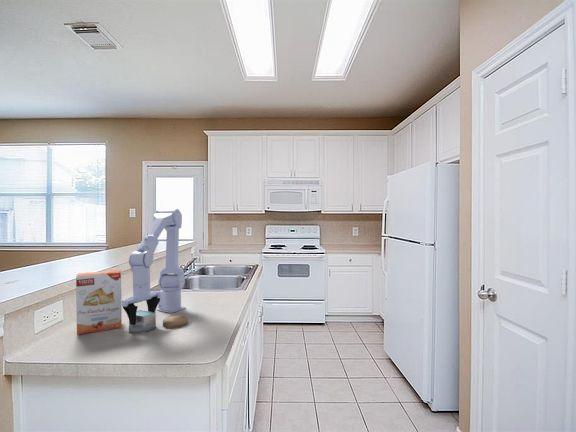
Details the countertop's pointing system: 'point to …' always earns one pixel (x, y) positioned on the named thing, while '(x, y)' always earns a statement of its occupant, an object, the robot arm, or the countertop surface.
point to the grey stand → (141, 328)
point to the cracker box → (98, 301)
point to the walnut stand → (175, 321)
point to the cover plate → (142, 313)
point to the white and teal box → (145, 319)
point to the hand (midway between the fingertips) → (142, 320)
